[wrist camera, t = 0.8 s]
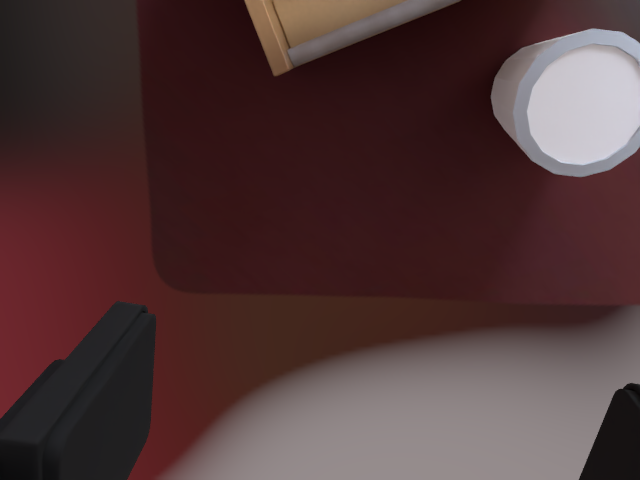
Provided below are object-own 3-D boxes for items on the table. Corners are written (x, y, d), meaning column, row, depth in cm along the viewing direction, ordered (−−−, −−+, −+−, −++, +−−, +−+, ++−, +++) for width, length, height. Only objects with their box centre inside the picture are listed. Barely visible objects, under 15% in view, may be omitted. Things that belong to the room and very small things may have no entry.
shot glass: (604, 24, 31) (673, 21, 24) (594, 145, 33) (655, 172, 27) (480, 36, 31) (515, 35, 25) (479, 154, 34) (511, 183, 27)
